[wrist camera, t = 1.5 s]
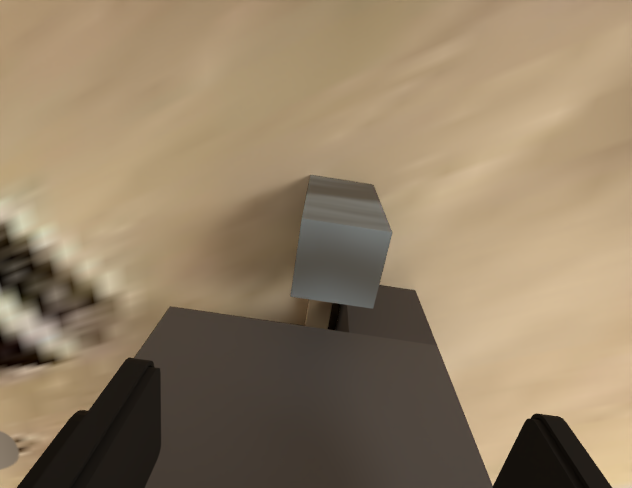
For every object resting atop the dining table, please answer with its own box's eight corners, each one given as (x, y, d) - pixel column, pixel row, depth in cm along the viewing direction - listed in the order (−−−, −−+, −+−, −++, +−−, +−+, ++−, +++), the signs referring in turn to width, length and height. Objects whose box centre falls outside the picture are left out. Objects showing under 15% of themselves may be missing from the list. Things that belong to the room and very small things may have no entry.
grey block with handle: (310, 174, 24) (301, 218, 17) (373, 184, 24) (392, 232, 17) (272, 433, 33) (256, 534, 26) (318, 439, 33) (314, 542, 26)
